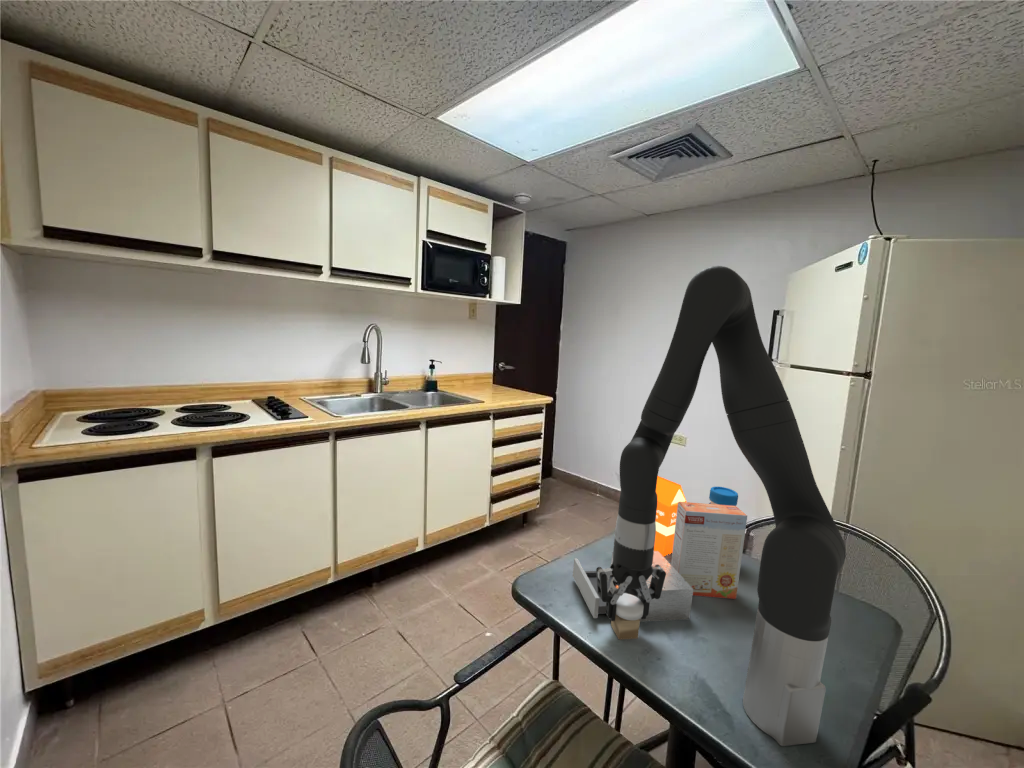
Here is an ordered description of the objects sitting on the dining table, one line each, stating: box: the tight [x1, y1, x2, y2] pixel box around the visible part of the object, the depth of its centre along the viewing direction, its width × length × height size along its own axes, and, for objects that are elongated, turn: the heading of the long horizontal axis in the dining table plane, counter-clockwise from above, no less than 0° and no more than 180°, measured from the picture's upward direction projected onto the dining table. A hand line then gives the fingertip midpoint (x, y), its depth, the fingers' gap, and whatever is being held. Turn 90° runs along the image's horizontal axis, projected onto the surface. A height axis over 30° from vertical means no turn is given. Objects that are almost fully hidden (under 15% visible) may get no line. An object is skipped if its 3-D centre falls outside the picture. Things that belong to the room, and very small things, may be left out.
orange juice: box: [654, 475, 688, 557], centre depth 117 cm, size 8×9×20 cm
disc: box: [616, 593, 644, 620], centre depth 82 cm, size 6×6×2 cm
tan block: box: [610, 615, 641, 640], centre depth 83 cm, size 4×4×4 cm
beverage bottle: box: [708, 486, 739, 507], centre depth 111 cm, size 8×8×20 cm
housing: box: [610, 551, 693, 623], centre depth 94 cm, size 15×12×7 cm
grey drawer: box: [572, 557, 638, 619], centre depth 93 cm, size 15×12×4 cm
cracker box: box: [670, 501, 748, 600], centre depth 98 cm, size 14×6×21 cm, turn 87°
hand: (626, 617), depth 82 cm, fingers closed on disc, 6 cm apart
